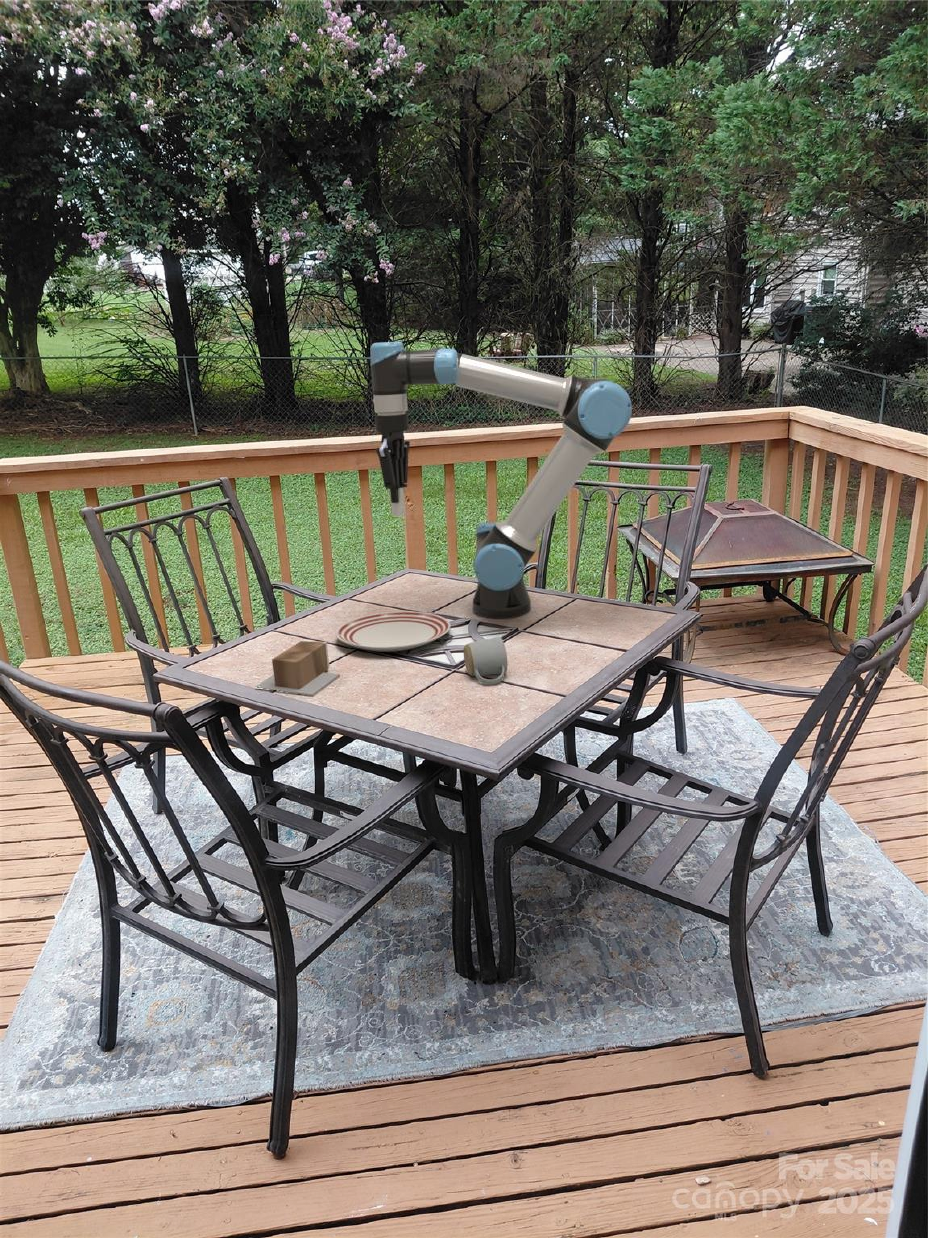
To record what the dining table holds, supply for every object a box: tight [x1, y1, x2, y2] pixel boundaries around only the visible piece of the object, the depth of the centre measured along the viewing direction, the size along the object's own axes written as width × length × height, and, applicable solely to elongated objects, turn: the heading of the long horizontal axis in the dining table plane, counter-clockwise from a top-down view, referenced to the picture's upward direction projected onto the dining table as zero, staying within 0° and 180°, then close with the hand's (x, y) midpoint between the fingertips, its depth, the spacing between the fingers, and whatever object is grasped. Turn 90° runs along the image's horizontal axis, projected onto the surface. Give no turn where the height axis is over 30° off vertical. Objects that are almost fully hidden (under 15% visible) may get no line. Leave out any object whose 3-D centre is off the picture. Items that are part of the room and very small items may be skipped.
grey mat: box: [255, 671, 340, 697], centre depth 177 cm, size 14×11×1 cm
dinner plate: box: [335, 610, 451, 653], centre depth 200 cm, size 27×27×3 cm
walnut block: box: [271, 639, 330, 689], centre depth 178 cm, size 6×6×12 cm
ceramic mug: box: [463, 636, 509, 686], centre depth 175 cm, size 11×8×8 cm
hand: (398, 515), depth 198 cm, fingers closed
